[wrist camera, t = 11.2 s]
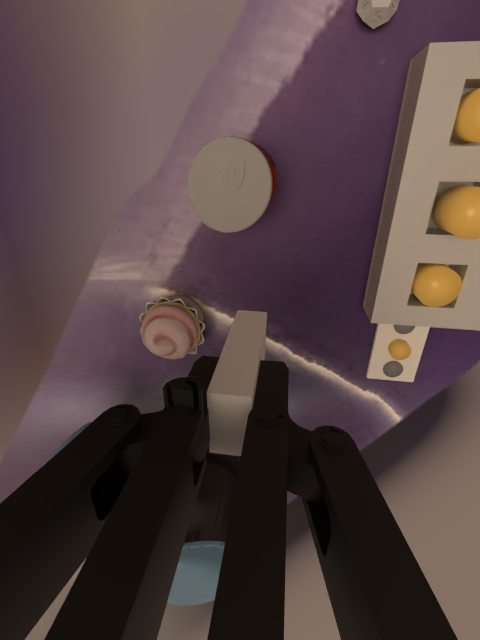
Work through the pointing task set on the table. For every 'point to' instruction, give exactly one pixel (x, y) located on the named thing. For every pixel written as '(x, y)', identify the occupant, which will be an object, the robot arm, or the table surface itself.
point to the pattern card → (396, 352)
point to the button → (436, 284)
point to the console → (427, 194)
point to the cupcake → (172, 326)
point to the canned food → (231, 184)
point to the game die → (376, 11)
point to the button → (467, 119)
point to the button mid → (459, 211)
